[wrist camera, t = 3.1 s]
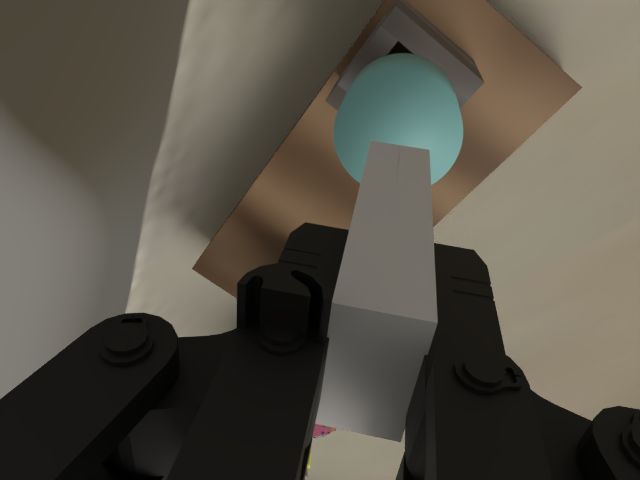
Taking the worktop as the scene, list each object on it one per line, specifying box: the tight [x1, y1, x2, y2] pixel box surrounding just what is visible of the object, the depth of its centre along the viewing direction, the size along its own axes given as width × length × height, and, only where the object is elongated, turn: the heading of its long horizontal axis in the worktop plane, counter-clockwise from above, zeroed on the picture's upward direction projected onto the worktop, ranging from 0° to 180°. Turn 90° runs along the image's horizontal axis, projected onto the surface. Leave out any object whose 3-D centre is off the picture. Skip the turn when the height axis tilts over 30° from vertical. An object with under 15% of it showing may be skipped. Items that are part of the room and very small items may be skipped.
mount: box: [192, 0, 582, 298], centre depth 31 cm, size 26×11×9 cm, turn 144°
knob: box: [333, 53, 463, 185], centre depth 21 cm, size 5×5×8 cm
